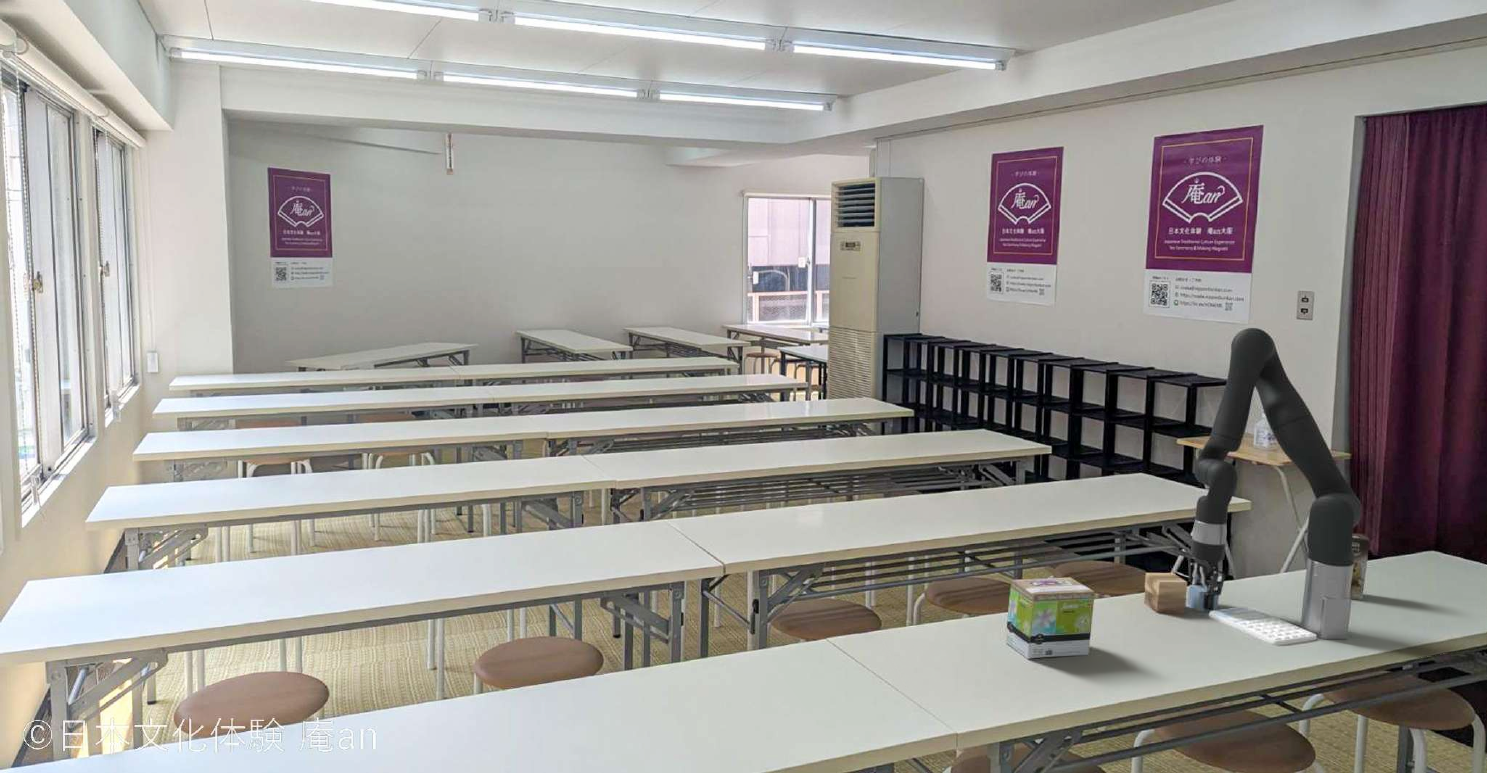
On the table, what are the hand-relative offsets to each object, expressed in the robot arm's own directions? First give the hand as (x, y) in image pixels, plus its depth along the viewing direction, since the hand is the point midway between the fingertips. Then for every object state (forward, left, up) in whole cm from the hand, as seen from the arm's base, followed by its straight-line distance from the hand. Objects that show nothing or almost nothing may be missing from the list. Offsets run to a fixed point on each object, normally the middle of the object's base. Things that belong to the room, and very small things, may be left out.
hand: (1202, 605), depth 255 cm
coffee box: (+11, -43, -1) cm, 45 cm away
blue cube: (0, 0, -1) cm, 1 cm away
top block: (-1, +10, +3) cm, 11 cm away
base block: (-1, +10, -1) cm, 10 cm away
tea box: (-28, +49, -1) cm, 56 cm away
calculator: (-13, -8, -1) cm, 15 cm away
